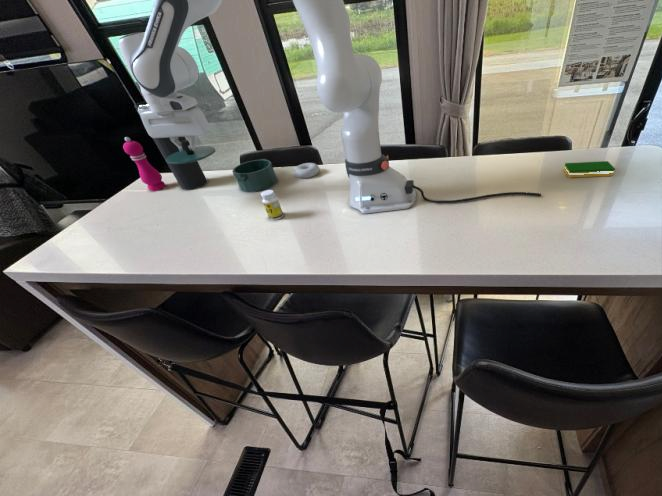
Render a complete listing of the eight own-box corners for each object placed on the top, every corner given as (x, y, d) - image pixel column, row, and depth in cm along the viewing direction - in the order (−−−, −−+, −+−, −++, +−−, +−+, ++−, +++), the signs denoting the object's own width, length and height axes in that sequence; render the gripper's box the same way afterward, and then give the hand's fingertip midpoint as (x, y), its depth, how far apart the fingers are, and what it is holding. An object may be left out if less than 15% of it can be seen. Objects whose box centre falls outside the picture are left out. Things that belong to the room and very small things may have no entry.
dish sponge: (613, 176, 106) (615, 168, 104) (568, 178, 107) (570, 170, 106) (605, 167, 111) (607, 160, 109) (563, 169, 113) (564, 162, 111)
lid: (224, 148, 112) (218, 132, 109) (199, 165, 101) (191, 148, 98) (185, 150, 114) (177, 135, 111) (157, 166, 103) (147, 150, 100)
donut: (316, 179, 126) (323, 168, 134) (313, 170, 124) (320, 160, 131) (292, 180, 128) (300, 170, 135) (289, 171, 125) (297, 161, 132)
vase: (192, 179, 138) (149, 99, 117) (212, 179, 136) (172, 98, 116) (176, 190, 131) (127, 106, 110) (197, 190, 129) (151, 105, 108)
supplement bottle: (266, 218, 105) (256, 194, 99) (277, 212, 108) (268, 188, 102) (275, 221, 103) (265, 196, 97) (286, 215, 106) (277, 190, 100)
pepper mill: (144, 191, 133) (110, 139, 119) (159, 183, 138) (128, 133, 124) (156, 192, 131) (123, 140, 117) (171, 185, 135) (140, 134, 122)
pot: (285, 173, 134) (279, 156, 129) (265, 194, 119) (257, 176, 115) (253, 175, 136) (246, 158, 131) (230, 195, 121) (221, 177, 117)
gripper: (127, 107, 96) (155, 155, 105) (188, 103, 93) (211, 152, 102) (142, 102, 101) (167, 148, 110) (200, 98, 98) (221, 145, 107)
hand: (189, 150), depth 106 cm, fingers closed on lid, 2 cm apart
